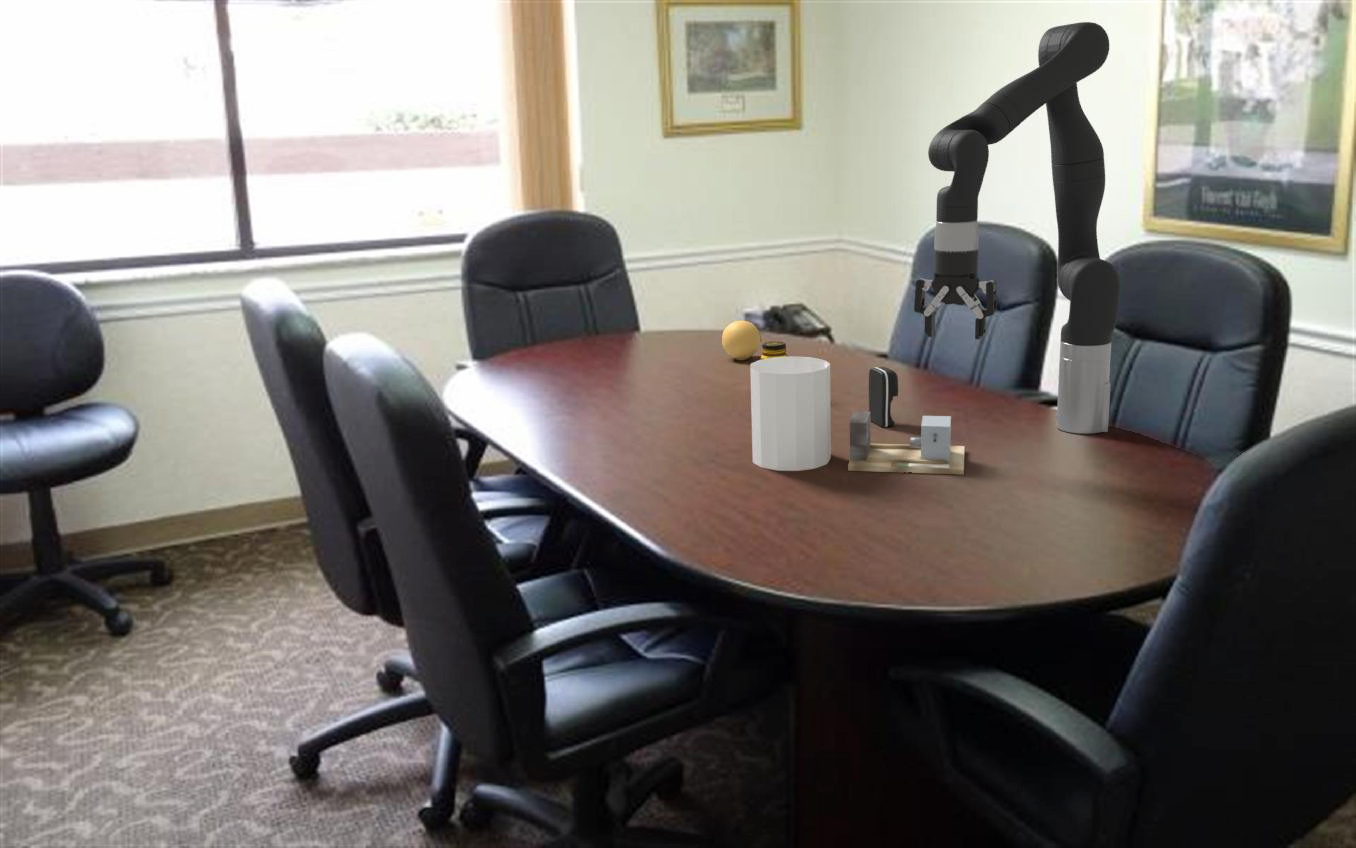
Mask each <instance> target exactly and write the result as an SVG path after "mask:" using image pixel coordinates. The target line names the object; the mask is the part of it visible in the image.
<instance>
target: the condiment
mask: <svg viewBox="0 0 1356 848" xmlns="http://www.w3.org/2000/svg"><path fill="white" fill-rule="evenodd" d="M761 348H762V350H761V352H762V353H761V354H762V355H760V356H761V357H760V360H762V359H768V358H774V357H789V356H788V354H787V344H786V343H785V342H783V341H776V340H774V341H766V342H763V343H762V346H761Z"/></svg>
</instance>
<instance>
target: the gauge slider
mask: <svg viewBox="0 0 1356 848" xmlns="http://www.w3.org/2000/svg"><path fill="white" fill-rule="evenodd" d="M921 418H922V419H921V424H920V427H921V428H920V437H913V436H912V437H910V440H909V442H910V443H909V445H910V447H915V448H921V459H927V460H947V462H950V446H951V438H952V437H951V433H952V432H951V430H952V424H951V423H952V416H951V415H949V416H948V415H922V417H921Z"/></svg>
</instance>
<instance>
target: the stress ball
mask: <svg viewBox="0 0 1356 848" xmlns="http://www.w3.org/2000/svg"><path fill="white" fill-rule="evenodd" d="M761 342H762V335H761V332H760V331H759V329H758V328H757V325H756V324H755V323H753V322H751V321H750V322H749V321H747V320H741V319H740V320H735V321H733V322H731V323H729V324H728V325H727V326H726V327H725V328H724V330H723V332H722V336H721V344H722V347H723V350H724V351H725V352H726V353H727V354H728V355H729V356H730V357H732V358H734V359H735V360H737V361H747V360H748V359H749V358H750V357H752V356H754V355H755V354H756V353H757V351H758V350H759V348H760V345H761Z"/></svg>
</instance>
